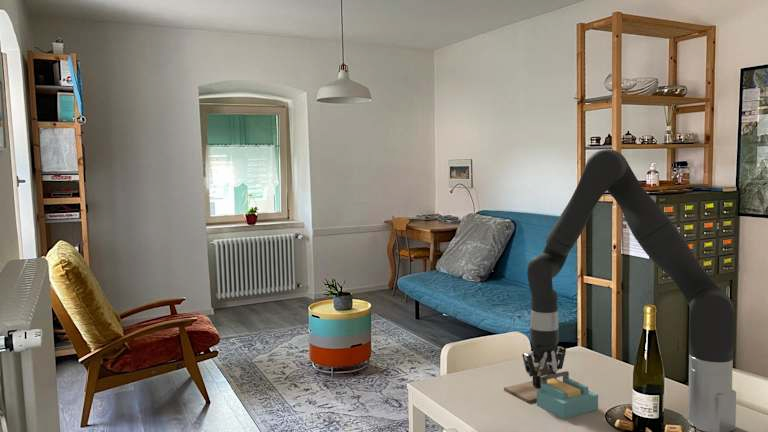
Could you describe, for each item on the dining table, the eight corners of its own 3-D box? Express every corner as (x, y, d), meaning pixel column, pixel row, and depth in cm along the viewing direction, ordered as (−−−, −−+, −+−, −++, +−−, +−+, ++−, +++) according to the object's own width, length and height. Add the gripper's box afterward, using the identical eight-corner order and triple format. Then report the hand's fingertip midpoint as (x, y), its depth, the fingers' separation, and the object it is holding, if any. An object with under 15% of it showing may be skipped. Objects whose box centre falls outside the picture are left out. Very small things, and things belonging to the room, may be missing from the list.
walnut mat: (568, 393, 166) (568, 391, 166) (528, 403, 160) (528, 400, 160) (542, 381, 176) (542, 379, 176) (503, 390, 170) (503, 387, 169)
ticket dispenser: (598, 409, 154) (598, 381, 154) (563, 418, 149) (562, 389, 149) (570, 396, 163) (570, 370, 163) (536, 405, 158) (536, 377, 158)
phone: (550, 359, 193) (555, 375, 179) (550, 362, 193) (555, 378, 179) (526, 358, 195) (528, 374, 180) (526, 362, 195) (528, 377, 180)
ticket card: (580, 394, 155) (580, 389, 155) (567, 397, 153) (567, 393, 153) (547, 379, 166) (547, 375, 166) (534, 382, 164) (534, 377, 164)
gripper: (532, 333, 156) (533, 395, 158) (573, 325, 162) (573, 386, 164) (514, 326, 163) (515, 386, 164) (554, 319, 169) (555, 377, 171)
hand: (544, 386), depth 164 cm, fingers closed on ticket card, 4 cm apart
